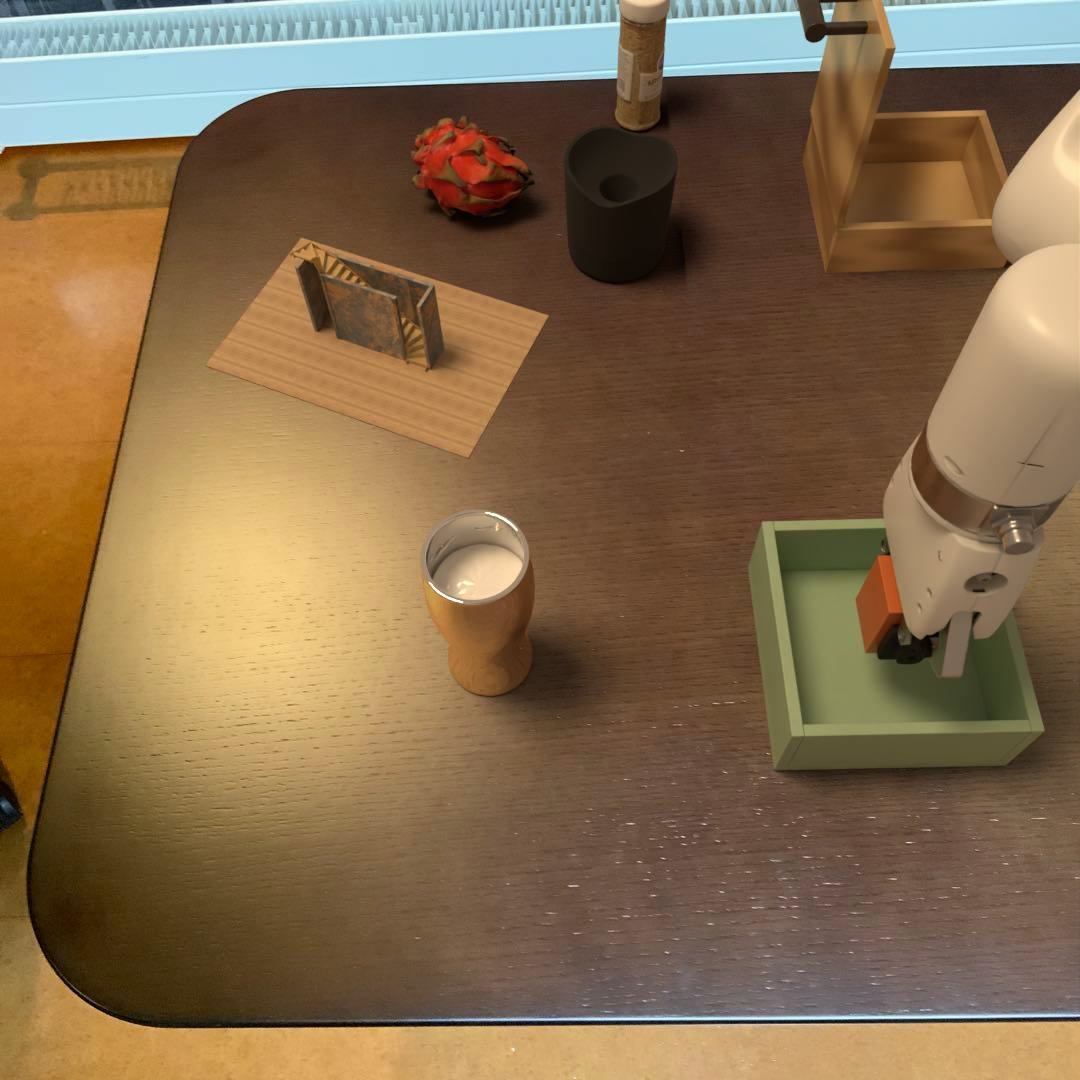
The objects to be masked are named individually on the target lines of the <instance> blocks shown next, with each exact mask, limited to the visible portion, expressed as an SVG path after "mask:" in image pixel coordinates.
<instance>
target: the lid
mask: <svg viewBox="0 0 1080 1080" xmlns="http://www.w3.org/2000/svg"><path fill="white" fill-rule="evenodd" d="M796 3H797V7H798V11H799V17H800V21H801V25H802V29H803V33H804V34H803V35H804V38H805V40H806V41H807V42H809V43H811V44H815V43H820V42H821V41H822V40H824V38H825V37H826V42H825V46H824V49H823V50H824V51H823V55H822V59H821V63H820V67H819V70H818V71H819V72H818V76H817V80H816V84H815V88H814V93H813V97H812V101H811V106H810V110H809V111H810V117H811V122H812V121H813V126H814V130H815V135H816V139H817V144H818V149H819V153H820V158H821V162H822V167H823V172H824V176H825V181H826V185H827V190H828V195H829V199H830V204H831V208H832V213H833V218H834V222H835V226H843V225H844V221H845V218H846V214H847V211H848V208H849V204H850V201H851V198H852V194H853V191H854V187H855V184H856V181H857V177H858V174H859V171H860V167H861V164H862V160H863V157H864V154H865V150H866V147H867V144H868V140H869V137H870V133H871V130H872V127H873V123H874V120H875V117H876V113H878V109H879V107H880V102H881V100H882V97H883V93H884V90H885V85H886V83H887V80H888V76H889V74H890V73H889V72H890V69H891V65H892V62H893V59H894V55H895V52H896V49H897V47H896V44H895V40H894V37H893V33H892V30H891V27H890V23H889V20H888V16H887V12H886V8H885V6H884V2H883V0H796ZM833 3H834V7H833V10H832V14H831V15H832V16H831V20H830V21H826V19H825V15H824V12H823V7H822V4H833Z"/></svg>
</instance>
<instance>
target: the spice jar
mask: <svg viewBox="0 0 1080 1080" xmlns="http://www.w3.org/2000/svg"><path fill="white" fill-rule="evenodd" d="M670 8H671V0H618V11H619V14H620V18H619V19H620V20H619V37H618V44H617V46H618V47H617V51H618V52H617V74H616V92H617V94H616V96H617V99H616V108H615V111H614V117H615V120H616V122H617V123H618V125H619V126H621V128H623V129H625V130H628V131H631V132H640V131H646V130H649V129H651V128H653V127H655V125H656V124H657V123H659V120H660V119H661V110H660V108H661V107H660V106H661V96H662V95H661V94H662V89H663V78H664V77H663V76H664V66H665V65H664V64H665V52H666V46H665V44H666V42H665V41H666V34H667V33H666V31H667V20H668V19H667V18H668V15H669V13H670Z"/></svg>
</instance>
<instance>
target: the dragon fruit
mask: <svg viewBox="0 0 1080 1080" xmlns="http://www.w3.org/2000/svg"><path fill="white" fill-rule="evenodd" d="M468 120H469V117H467V116H466V115H461V117H460V118H459V122H458V124H456V122H455V121H454V120H453V119H452V118H451V117H443V118H442V119H439V120H438V121H437V125H431V126H429V127H425V128H424V130H423V131H422V133H420V134H416V137H415V140H414V146H415V149H417V151H415V150H414V148H411V150H410V158H411V161H412V163H413V164H414V165H416V166H419V170H417V172H416V174H415V175H414V176H413V177H412V179H411V180H410V183H411V184H412V185H413V186H414V188H415V190H417V191H419V190H426V189H430V191H431V192H432V193H433V195H434V197H435V198H436V200H437V202H438V205H439V208H441V210H442V211H443V212H444V214H445V215H446V216H448V217H453V216H454V215H455V214H456V212H457V210H455V209H458V210H460V211H463V212H468V213H471V214H472V215H473V216H481V217H482V218H488V217H489V218H490V217H495V216H499V215H502V214H503V215H504V214H505V213H506V212H508V210H507V209H502V207H504V206H506V204H507V203H509V202H510V201H511V200H513V199H515V198H522V197H523V194H524V191H526V190H527V189H528V187H529V186H534V185H535V180H534V179H533V178H532V179H530V180H529V177H530V176H533V175H534V174H535V173H534V172H532V171H531V169H530V168H529V166H528V164H527V162H525V161H524V160H522V159H520V158H518V157H516V156H514V155H515V153H516V152H518V149H517V148H516V146H514V145H513V144H510V142H509V139H507V138H506V137H504V136H503V137H502V136H494V135H490V133H489V132H488V130H487V129H479V126H478V125H477V123H474V122H471V121H470V122H469V123H468ZM499 143H502V145H503V146H504V147H506V148H507V150H505V149H501V148H500V146H499Z"/></svg>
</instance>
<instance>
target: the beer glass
mask: <svg viewBox="0 0 1080 1080" xmlns="http://www.w3.org/2000/svg"><path fill="white" fill-rule="evenodd" d="M419 563H420V564H419V565H420V571H421V579H422V589H423V594H424V600H425V603H426V606H427V610H428V613H429V616H430V618H431V619H432V622H433V623H434V625H435V626H436V628H437V630H438V632H439V633H440V635H441V637H443V639H444V640H445V642H446V643H447V644H448V651H447V652H448V653H447V661H448V666H449V670H450V673H451V674H452V676H453V678H454V679H455V681H456V683H458V684H459V685H460V686H461V687H462V688H464V689H465V690H467V691H469V692H470V693H472V694H475V695H479V696H483V697H484V696H485V697H494V696H500V695H503V694H507V693H508V692H511V691H513V690H515V689H516V688H517V687H519V686H520V685H521V683H522V682H524V680H525V679H526V678H527V676H528V675H529V673H530V670H531V668H532V664H533V659H534V658H533V656H534V654H533V651H534V650H533V646H532V641H531V640H530V637H529V635H528V634H527V631H528V629H529V625H530V623H531V619H532V616H533V612H534V606H535V600H536V583H535V574H534V567H533V562H532V558H531V555H530V547H529V542H528V540H527V537H526V535H525V533H523V530H522V529H521V528H520V526H519V525H517V524H516V522H515V521H514V520H512V519H510V518H509V517H507V516H506V515H503V514H502V513H499V512H497V511H493V510H489V509H481V508H473V509H464V510H461V511H457V512H455V513H454V512H453V513H452V514H449V515H448V516H445V518H443V519H441V520H439V522H437V523H436V524H435V525H434V526H433V527H432V528H431V530H429V532H428V533H427V535H426V536H425V539H424V540H423V543H422V545H421V549H420V556H419Z"/></svg>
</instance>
